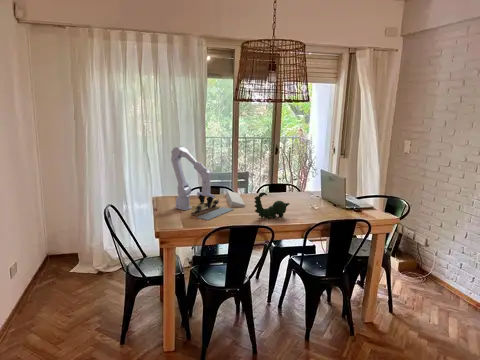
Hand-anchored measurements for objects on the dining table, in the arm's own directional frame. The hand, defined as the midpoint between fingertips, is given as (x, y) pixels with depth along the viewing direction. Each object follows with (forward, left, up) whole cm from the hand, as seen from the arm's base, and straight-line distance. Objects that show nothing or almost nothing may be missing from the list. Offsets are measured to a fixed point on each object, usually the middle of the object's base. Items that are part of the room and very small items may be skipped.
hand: (205, 206), depth 247 cm
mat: (+9, 0, -3) cm, 10 cm away
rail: (0, 0, 0) cm, 0 cm away
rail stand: (0, 0, -3) cm, 3 cm away
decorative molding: (0, +36, -4) cm, 37 cm away
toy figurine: (+43, +17, -4) cm, 46 cm away
